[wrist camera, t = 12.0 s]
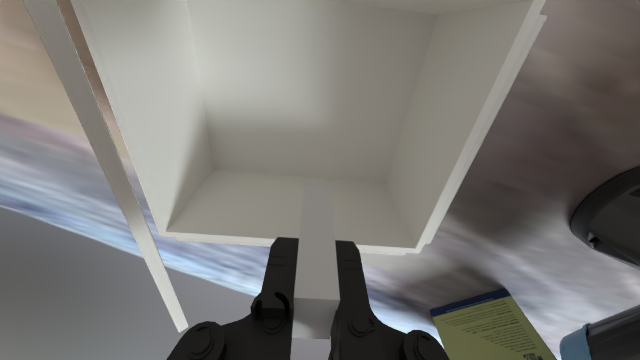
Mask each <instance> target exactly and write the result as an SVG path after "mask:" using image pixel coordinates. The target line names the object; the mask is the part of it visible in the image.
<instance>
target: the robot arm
mask: <svg viewBox="0 0 640 360" xmlns="http://www.w3.org/2000/svg"><path fill="white" fill-rule="evenodd" d="M571 230H572V232H573V234H574V235H575V236H576V237H577V238H578V239H580V240H581V241H582V242H584V243H585V244H586V245H587V246H589V247H590V248H592V249H594V250H596V251H598V252H600V253H603V254H605V255H607V256H609V257H612V258H614V259H616V260H618V261H620V262H623V263H625V264H627V265H629V266H631V267H634V268H636V269H638V270H640V167H638V168H635V169H632V170H630V171H628V172H625V173H623V174H621V175H619V176H617V177H615V178H614V179H612V180H610V181H609V182H607V183H605V184H604V185H602V186H601V187H600V188H598V189H597V190H596V191H594V192H593V193H592V194H591V195H590V196H588V197H587V198H586V199H585V200H584V201H583V203H582V204H581V205H580V206H579V207H578V209H577V210H576V212H575V214H574V216H573V218H572V221H571ZM330 335H331V351H330V354H329V358H328V360H450V359H449V357H448V356H447V354H446V352H445V351H444V349H443V347H442V346H441V345H440V343H439V342H438V341H437V340H436V339H435V338H434V337H433V336H431V335H430V334H429V333H427V332H424V331H422V330H412V331H411V332H409V333H407V334H406V333H403V332H401V331H398V330H396V329H393V328H391V327H389V326H387V325H385V324H383V323H382V322H381V321H380V320H378V318H377V317H376V316H375V315H374V313H373V312H372V310H371V307H370V304H369V299H368V294H367V289H366V284H365V278H364V273H363V268H362V263H361V257H360V252H359V249H358V248H357V246H356V245H355V243H354V242H353V241H342V240H335V234H334V222H333V209H332V197H331V186H322V185H310V184H304V191H303V202H302V213H301V224H300V235H299V238H288V237H277V239H276V240H275V241H274V242H273V244H272V245H271V249H270V254H269V258H268V263H267V268H266V272H265V277H264V281H263V286H262V290H261V293H260V294H259V295H258V296H257V297H256V298H255V299H254V301H253V303H252V305H251V313H250V314H249V315H248V316H246V317H245V318H243V319H241V320H238V321H235V322H232V323H229V324H225V325H222V326H220V325H219V324H217V323H216V322H209V321H206V322H202V323H199V324H196V325H195V326H193V327H192V328H190V329H189V330H188V331H187V332H186V333H185V334H184V335H183V336H182V338H181V339H180V340H179V342H178V344H177V345H176V346H175V348H174V349H173V351H172V352H171V354H170V355H169V357H168V358H167V360H290V354H291V341H292V338H316V339H330ZM560 354H561V359H562V360H640V305H638V306H635V307H633V308H630V309H628V310H625V311H623V312H620V313H618V314H615V315H613V316H610V317H608V318H605V319H603V320H600V321H598V322H595V323H593V324H591V323H587V324H585V325H584V326H583V327H582V328H581V329H579V330H577V331H575V332H573V333H571V334H569V335H567V336H565V337H564V338H563V339H562V340H561V342H560Z"/></svg>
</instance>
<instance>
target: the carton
mask: <svg viewBox="0 0 640 360" xmlns="http://www.w3.org/2000/svg"><path fill="white" fill-rule="evenodd" d="M545 1H546V0H71V3H72V6H73V8H74V11H75V14H76V16H77V19H78V21H79V24H80V27H81V29H82V32H83V35H84V37H85V40H86V42H87V45H88V48H89V50H90V53H91V56H92V58H93V61H94V63H95V66H96V69H97V71H98V74H99V77H100V79H101V82H102V84H103V87H104V90H105V92H106V95H107V98H108V100H109V103H110V105H111V108H112V111H113V113H114V116H115V119H116V121H117V124H118V126H119V129H120V132H121V134H122V137H123V140H124V142H125V145H126V147H127V150H128V153H129V155H130V158H131V161H132V163H133V166H134V168H135V171H136V174H137V176H138V179H139V182H140V184H141V187H142V189H143V192H144V195H145V197H146V200H147V203H148V205H149V208H150V210H151V213H152V216H153V218H154V221H155V224H156V226H157V229H158V231H159V234H160V236H166V237H175V238H176V240H177V241H192V242H207V243H222V244H237V245H252V246H267V247H271V245H272V244H273V242H274V241H275V240H276V239H277V237H288V238H299V235H300V224H301V213H302V202H303V191H304V184H310V185H322V186H331V197H332V209H333V222H334V234H335V240H342V241H353V242H354V243H355V245H356V246H357V248H358V249H359V252H360V253H373V254H388V255H403V256H405V255H406V253H420V252H421V250H422V248H423V246H424V244H430V243H431V241H432V239H433V237H434V235H435V233H436V231H437V229H438V227H439V225H440V223H441V222H442V220H443V218H444V216H445V214H446V212H447V210H448V208H449V206H450V204H451V202H452V200H453V198H454V196H455V194H456V193H457V191H458V189H459V187H460V185H461V183H462V181H463V179H464V177H465V175H466V173H467V171H468V169H469V167H470V165H471V164H472V162H473V160H474V158H475V156H476V154H477V152H478V150H479V148H480V146H481V144H482V142H483V140H484V138H485V136H486V135H487V133H488V131H489V129H490V127H491V125H492V123H493V121H494V119H495V117H496V115H497V113H498V111H499V109H500V107H501V106H502V104H503V102H504V100H505V98H506V96H507V94H508V92H509V90H510V88H511V86H512V84H513V82H514V80H515V78H516V77H517V75H518V73H519V71H520V69H521V67H522V65H523V63H524V61H525V59H526V57H527V55H528V53H529V51H530V49H531V48H532V46H533V44H534V42H535V40H536V38H537V36H538V34H539V32H540V30H541V28H542V26H543V24H544V22H545V21H546V19H547V17H548V16H545V15H539V13H540V11H541V9H542V7H543V5H544V3H545Z"/></svg>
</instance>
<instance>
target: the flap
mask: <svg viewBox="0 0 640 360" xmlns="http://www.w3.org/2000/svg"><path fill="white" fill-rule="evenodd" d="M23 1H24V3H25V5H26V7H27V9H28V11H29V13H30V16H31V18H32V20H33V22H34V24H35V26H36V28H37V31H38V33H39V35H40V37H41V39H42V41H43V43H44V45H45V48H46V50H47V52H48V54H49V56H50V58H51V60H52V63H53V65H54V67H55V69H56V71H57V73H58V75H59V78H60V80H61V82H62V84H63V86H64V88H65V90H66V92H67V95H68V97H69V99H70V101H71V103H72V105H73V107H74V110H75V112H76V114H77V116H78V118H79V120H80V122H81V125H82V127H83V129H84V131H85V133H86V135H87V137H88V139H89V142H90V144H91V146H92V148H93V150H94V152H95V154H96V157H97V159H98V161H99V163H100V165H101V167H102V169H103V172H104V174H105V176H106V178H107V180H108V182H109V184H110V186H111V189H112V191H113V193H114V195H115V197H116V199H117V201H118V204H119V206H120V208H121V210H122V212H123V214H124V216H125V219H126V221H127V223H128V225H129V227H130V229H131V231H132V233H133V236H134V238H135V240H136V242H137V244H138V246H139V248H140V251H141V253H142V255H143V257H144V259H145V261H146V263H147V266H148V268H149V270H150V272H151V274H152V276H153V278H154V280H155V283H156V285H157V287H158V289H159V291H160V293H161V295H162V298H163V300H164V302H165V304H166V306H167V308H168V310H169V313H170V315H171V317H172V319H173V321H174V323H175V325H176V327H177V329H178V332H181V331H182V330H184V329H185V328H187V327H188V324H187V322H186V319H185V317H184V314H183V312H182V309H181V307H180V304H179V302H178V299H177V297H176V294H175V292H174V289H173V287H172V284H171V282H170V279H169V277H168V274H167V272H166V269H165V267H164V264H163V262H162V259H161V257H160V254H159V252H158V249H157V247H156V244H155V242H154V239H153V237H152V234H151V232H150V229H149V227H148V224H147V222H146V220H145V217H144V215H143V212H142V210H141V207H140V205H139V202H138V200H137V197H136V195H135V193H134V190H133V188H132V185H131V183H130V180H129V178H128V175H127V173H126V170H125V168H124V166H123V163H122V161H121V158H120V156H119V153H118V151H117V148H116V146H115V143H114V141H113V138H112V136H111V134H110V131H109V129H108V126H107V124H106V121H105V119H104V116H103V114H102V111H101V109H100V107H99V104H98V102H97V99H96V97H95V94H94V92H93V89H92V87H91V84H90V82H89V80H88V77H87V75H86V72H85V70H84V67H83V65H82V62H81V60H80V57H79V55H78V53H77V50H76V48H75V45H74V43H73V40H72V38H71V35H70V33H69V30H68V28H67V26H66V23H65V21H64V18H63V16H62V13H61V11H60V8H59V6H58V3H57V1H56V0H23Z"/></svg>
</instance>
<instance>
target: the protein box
mask: <svg viewBox="0 0 640 360" xmlns="http://www.w3.org/2000/svg"><path fill="white" fill-rule="evenodd" d="M430 313H431V316H432V318H433V321H434V323H435V326H436V328H437V331H438V333H439V336H440V338H441V341H442V344H443V346H444V349H445V351H446V354H447V356H448V357H449V359H450V360H557V359H556V358H555V356H554V355H553V353H552V352H551V351H550V349H549V348H548V346H547V345H546V344H545V342H544V341H543V339H542V338H541V337H540V335H539V334H538V333H537V331H536V330H535V329H534V327H533V326H532V324H531V323H530V322H529V320H528V319H527V317H526V316H525V315H524V313H523V312H522V310H521V309H520V308H519V306H518V305H517V303H516V302H515V301H514V299H513V298H512V296H511V295H510V293H509V292H508V290H507V289H502V290H499V291H495V292H492V293H488V294H485V295H481V296H478V297H475V298H471V299H468V300H464V301H461V302H457V303H453V304H450V305H446V306H443V307H440V308H436V309H432V310H430Z"/></svg>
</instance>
